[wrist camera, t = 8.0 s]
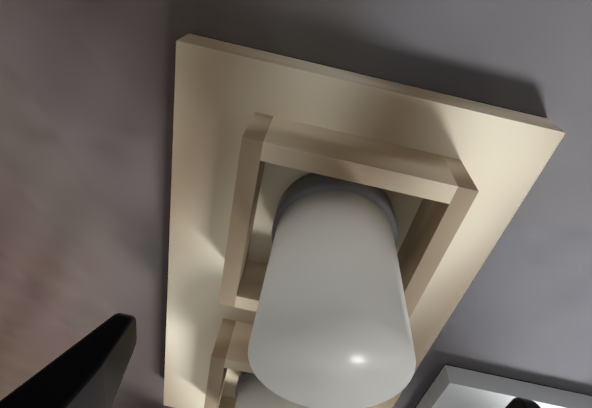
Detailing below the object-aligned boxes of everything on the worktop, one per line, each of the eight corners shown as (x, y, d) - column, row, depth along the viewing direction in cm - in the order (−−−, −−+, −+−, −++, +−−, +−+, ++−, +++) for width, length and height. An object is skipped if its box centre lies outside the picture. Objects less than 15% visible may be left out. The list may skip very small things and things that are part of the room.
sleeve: (373, 275, 16) (387, 427, 11) (267, 251, 16) (232, 394, 11) (411, 184, 13) (453, 324, 8) (288, 155, 13) (254, 280, 8)
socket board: (548, 118, 13) (602, 162, 10) (366, 426, 24) (369, 486, 21) (189, 33, 13) (148, 55, 10) (170, 385, 23) (149, 441, 21)
